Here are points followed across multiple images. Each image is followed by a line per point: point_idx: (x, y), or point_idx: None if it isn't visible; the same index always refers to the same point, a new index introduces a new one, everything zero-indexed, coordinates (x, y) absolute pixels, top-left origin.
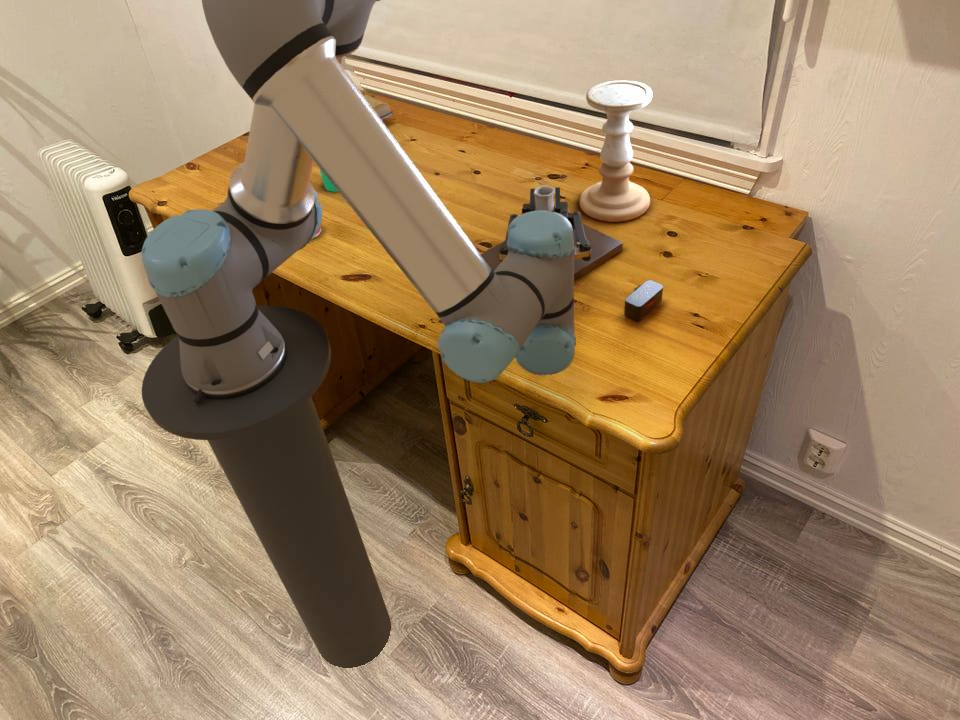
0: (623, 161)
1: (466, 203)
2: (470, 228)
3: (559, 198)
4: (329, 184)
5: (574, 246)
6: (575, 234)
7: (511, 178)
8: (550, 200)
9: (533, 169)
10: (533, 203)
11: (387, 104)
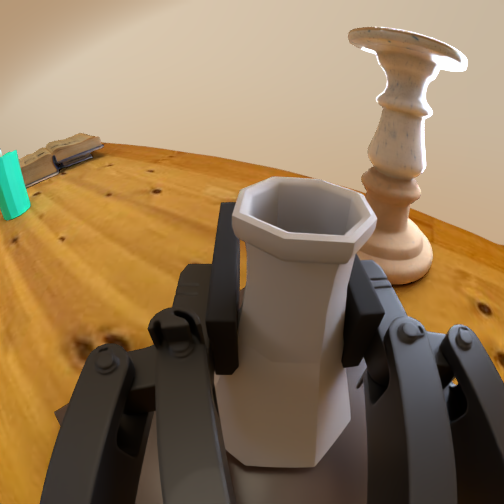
0: (420, 168)
1: (120, 236)
2: (103, 290)
3: None
4: (2, 212)
5: (354, 381)
6: (495, 493)
7: (201, 198)
8: (345, 270)
9: (234, 187)
10: (230, 271)
11: (98, 138)
